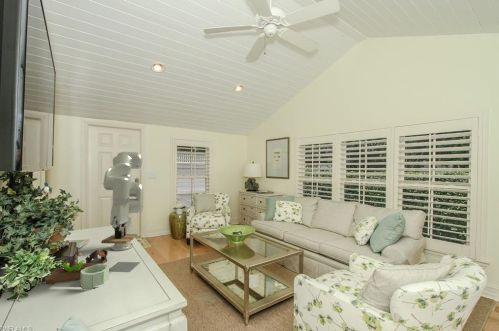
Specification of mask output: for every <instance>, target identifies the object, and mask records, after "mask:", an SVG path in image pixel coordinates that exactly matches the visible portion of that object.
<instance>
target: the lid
mask: <svg viewBox="0 0 499 331" xmlns="http://www.w3.org/2000/svg"><path fill="white" fill-rule="evenodd" d="M121 230H122V238H121V239H115V234H114V233H113V234H112V235H109V236H107V237H106V238H104V239H103V240H101V244H114V243H116V244H126V243H128V242H130V241H131V242H132V240H134V239H135V238H138V233H131V234H126V235H125V236H124V227H121Z"/></svg>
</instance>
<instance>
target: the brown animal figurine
mask: <svg viewBox="0 0 499 331" xmlns="http://www.w3.org/2000/svg"><path fill="white" fill-rule="evenodd" d="M108 254H109V252H108V250H107V249H102V250H101V251H100V250H99V249H97V250H94V251H93V252H91V253H90V254H89V256H86V257H85V259H84V260H85V263H93V262H92V261H93V260H98V259H99V257H100V258H101V260H102V261H101V263H102V264H105V263H107V262H108V258H107V256H108Z"/></svg>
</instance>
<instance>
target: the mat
mask: <svg viewBox="0 0 499 331" xmlns="http://www.w3.org/2000/svg"><path fill="white" fill-rule="evenodd" d="M140 263H141V261H138V262H136V261H118V262H116V263H115V264H113V265H112V266H111V267H109V273H110V272H111V273H112V272H114V273H130V272H132V270H134V269H135V268H136V267H138V266H139V264H140Z"/></svg>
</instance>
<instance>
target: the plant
mask: <svg viewBox="0 0 499 331" xmlns="http://www.w3.org/2000/svg"><path fill="white" fill-rule="evenodd" d="M72 255H73V256H72V258H71V256H68V255H64V256H62V258H61V260H62V261H64V260H65V259H66V258H67V259H68V260H66V261H64V262H63V264H60V265H59V267H61V266H62V267H63V268H64V269H57V268H55V269H56V270H55V269H53V270H54V271H53V270H52V271H50V273H51V275H50V276H48V277H46V276H45V277H44V283H45V282H46V283H45V285H55V284H56V283H67V282H74V281H80V271H81V270H83V269H84V268H86V267H89V266H93V265H98V264H97V263H93V262H92V263H90V262H89V263H86V260H85V259H82V260H80V261H79V262H78V260H77V259H76V255H77V256H78V257H81V256H82V253H81V252H80V251H77V252H75V253H74V254H72Z"/></svg>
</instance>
